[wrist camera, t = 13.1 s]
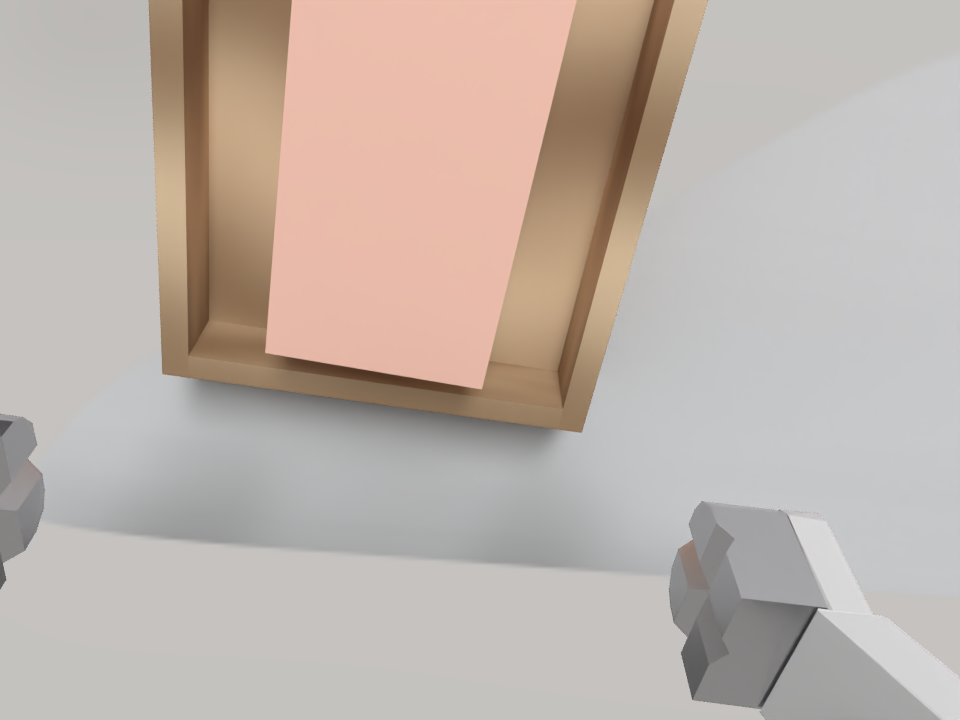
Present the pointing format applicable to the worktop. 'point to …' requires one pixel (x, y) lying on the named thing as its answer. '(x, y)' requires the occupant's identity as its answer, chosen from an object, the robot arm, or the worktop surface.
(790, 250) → the worktop surface
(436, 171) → the pink rectangular block
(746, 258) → the worktop surface
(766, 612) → the robot arm
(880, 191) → the worktop surface
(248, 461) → the worktop surface
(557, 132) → the tray
